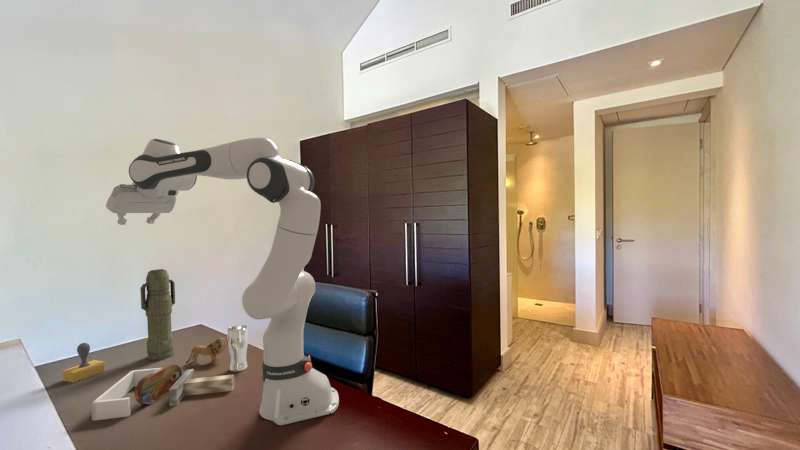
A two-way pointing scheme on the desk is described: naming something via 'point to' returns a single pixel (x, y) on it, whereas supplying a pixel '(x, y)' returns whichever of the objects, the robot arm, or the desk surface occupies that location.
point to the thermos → (158, 313)
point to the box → (117, 397)
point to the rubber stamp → (83, 366)
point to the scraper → (198, 386)
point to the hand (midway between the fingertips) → (135, 223)
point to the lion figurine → (208, 350)
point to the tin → (157, 384)
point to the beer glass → (237, 347)
